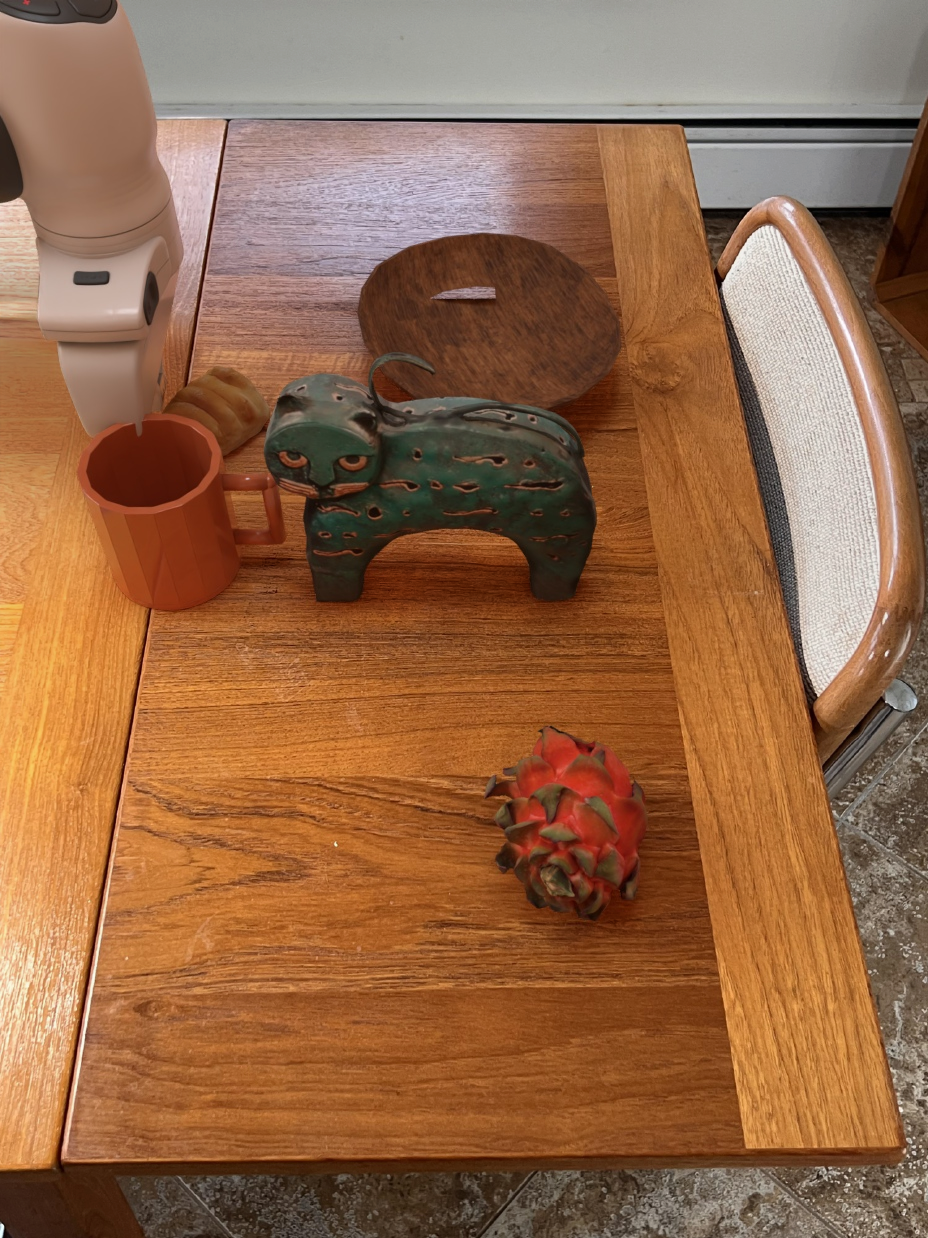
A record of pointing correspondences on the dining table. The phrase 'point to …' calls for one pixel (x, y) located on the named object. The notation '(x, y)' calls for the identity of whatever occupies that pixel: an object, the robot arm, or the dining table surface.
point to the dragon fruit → (571, 825)
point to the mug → (170, 510)
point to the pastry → (223, 406)
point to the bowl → (490, 321)
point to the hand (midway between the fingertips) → (153, 399)
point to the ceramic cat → (428, 477)
